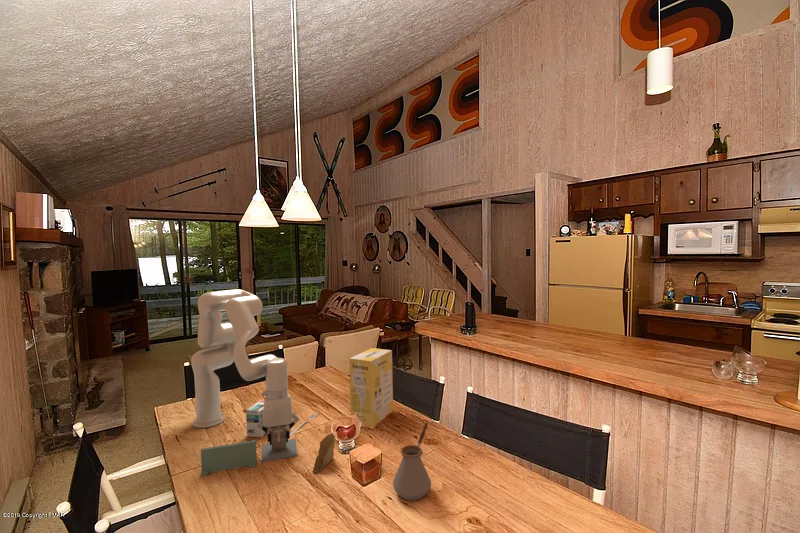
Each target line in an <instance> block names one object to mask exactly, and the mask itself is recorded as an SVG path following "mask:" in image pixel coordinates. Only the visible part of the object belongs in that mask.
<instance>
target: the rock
mask: <svg viewBox="0 0 800 533" xmlns="http://www.w3.org/2000/svg"><path fill="white" fill-rule="evenodd" d="M335 443H336V435H335V434H334V433H329V434H326V436H325V437H323V438H322V440H321V441H320V442H319V449H318V453H317V456H316V459H315V461H314V462H315V463H314V466H313V468H312V472H315V473H320V472H321V471H322V470H323V469H324V468H325V467H326V466H327V465H328V464H329V463H330V462H331V461H332V460H333V459H334V455H335V454H334V453H335V450H334V449H335Z"/></svg>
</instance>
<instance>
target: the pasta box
mask: <svg viewBox="0 0 800 533" xmlns="http://www.w3.org/2000/svg"><path fill="white" fill-rule="evenodd" d="M348 359H349V390H350V391H349V392H350V394H349V395H350V396H349V397H350V398H349V399H350V416H351V415H354V414H355V413H356V412H357V414H358V416H359V418H360V420H361V423H362V425H364V426H368V427H373V426H374V425H376V424H377V423H378V422H379V421H380V420H382V419H383V418H384V417H385V416H386V415H387V414H389V413H390V412H391V411H392V410H393V411H394V393H393V392H394V389H393V388H394V387H393V384H394V383H393V381H394V380H393V350H391V349H386V348H385V349H384V348H383V349H382V348H375V347H371V348H369V349H367V350H365V351H362V352H360V353H359V354H358V353H357V354H355V355H353V356H351V357H349V358H348ZM382 421H383V420H382ZM376 426H377V425H376Z"/></svg>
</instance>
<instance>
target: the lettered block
mask: <svg viewBox="0 0 800 533" xmlns="http://www.w3.org/2000/svg"><path fill="white" fill-rule="evenodd" d="M271 441H272V450H275V449H281V448H286V425H283V426H276V427H271Z"/></svg>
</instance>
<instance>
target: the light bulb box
mask: <svg viewBox="0 0 800 533" xmlns="http://www.w3.org/2000/svg"><path fill="white" fill-rule="evenodd" d="M264 400H265V399H260V400H258V401H257V402H255V403H254V404H252V405H251V406H250V407H248V408H247V409H246V410H245V416H246V418H245V419H246V420H245V422H246V437H253V438H262V437H264V436H265V435H266V434H267V433H266V432H264V431H263V430H262V429H260V428H258V427H257V424H258V422H259V421H260V420H261V418H262V417H263V407H264ZM263 425H264V424H263Z"/></svg>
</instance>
